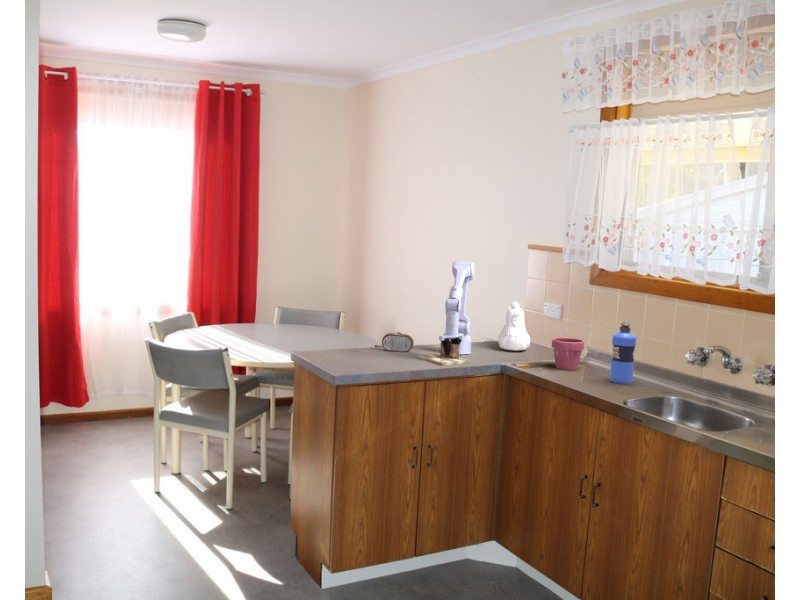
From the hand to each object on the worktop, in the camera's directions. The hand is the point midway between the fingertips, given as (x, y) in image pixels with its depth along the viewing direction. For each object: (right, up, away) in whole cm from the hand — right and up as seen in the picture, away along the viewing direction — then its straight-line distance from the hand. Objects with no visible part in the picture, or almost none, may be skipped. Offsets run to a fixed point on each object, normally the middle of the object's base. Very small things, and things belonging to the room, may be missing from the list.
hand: (450, 354), depth 326 cm
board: (-3, -2, -2) cm, 4 cm away
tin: (-24, 0, +15) cm, 29 cm away
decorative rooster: (+35, 0, +35) cm, 49 cm away
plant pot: (+51, -6, -6) cm, 52 cm away
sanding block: (0, -1, +1) cm, 1 cm away
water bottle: (+69, -9, -29) cm, 75 cm away
